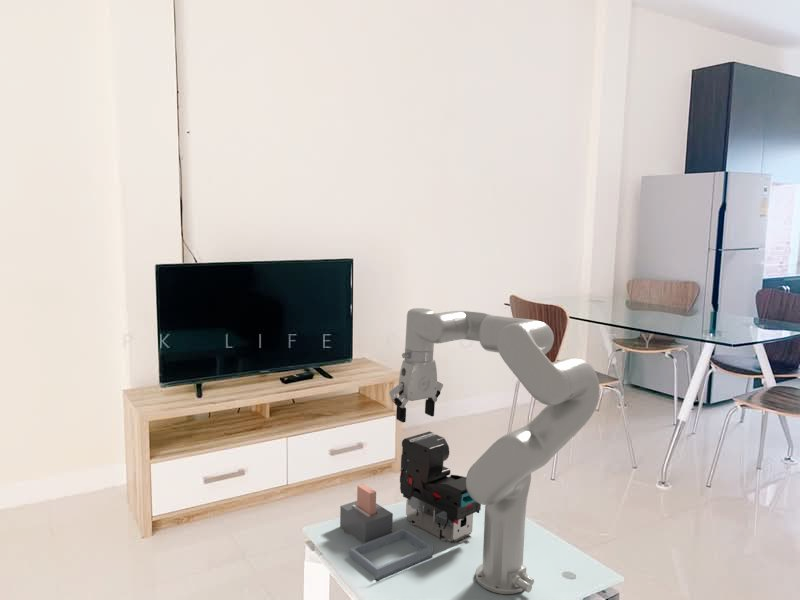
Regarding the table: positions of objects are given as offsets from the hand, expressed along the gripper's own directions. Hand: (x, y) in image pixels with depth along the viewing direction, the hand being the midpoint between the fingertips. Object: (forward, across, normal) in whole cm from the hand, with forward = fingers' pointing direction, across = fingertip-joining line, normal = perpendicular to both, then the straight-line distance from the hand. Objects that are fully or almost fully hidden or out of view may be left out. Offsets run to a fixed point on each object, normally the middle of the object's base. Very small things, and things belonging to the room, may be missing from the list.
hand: (415, 417), depth 161 cm
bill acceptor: (+34, +9, -3) cm, 35 cm away
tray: (+33, -11, -7) cm, 36 cm away
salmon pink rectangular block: (+33, -10, +7) cm, 35 cm away
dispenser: (+34, -10, +7) cm, 36 cm away
